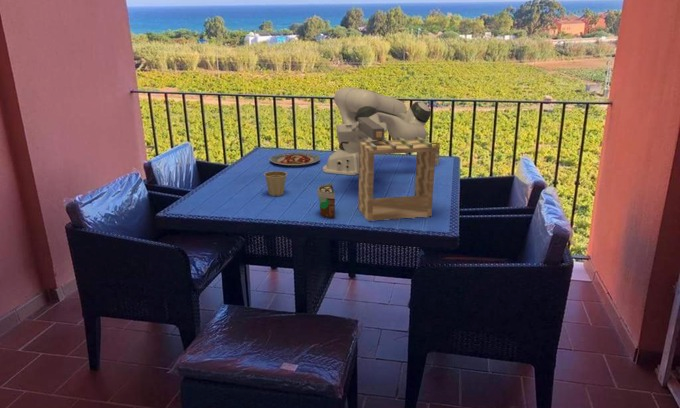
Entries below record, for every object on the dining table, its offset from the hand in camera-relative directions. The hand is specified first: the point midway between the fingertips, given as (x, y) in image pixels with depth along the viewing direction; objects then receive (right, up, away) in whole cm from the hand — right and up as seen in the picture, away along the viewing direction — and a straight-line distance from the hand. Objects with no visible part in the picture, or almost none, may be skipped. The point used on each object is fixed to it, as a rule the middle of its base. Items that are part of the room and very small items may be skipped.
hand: (365, 123), depth 199 cm
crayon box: (+36, -12, +62) cm, 73 cm away
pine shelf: (+10, -34, -6) cm, 36 cm away
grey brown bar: (+2, -5, -6) cm, 8 cm away
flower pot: (-36, -27, +16) cm, 48 cm away
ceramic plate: (-33, -10, +67) cm, 75 cm away
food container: (-15, -35, -7) cm, 39 cm away
